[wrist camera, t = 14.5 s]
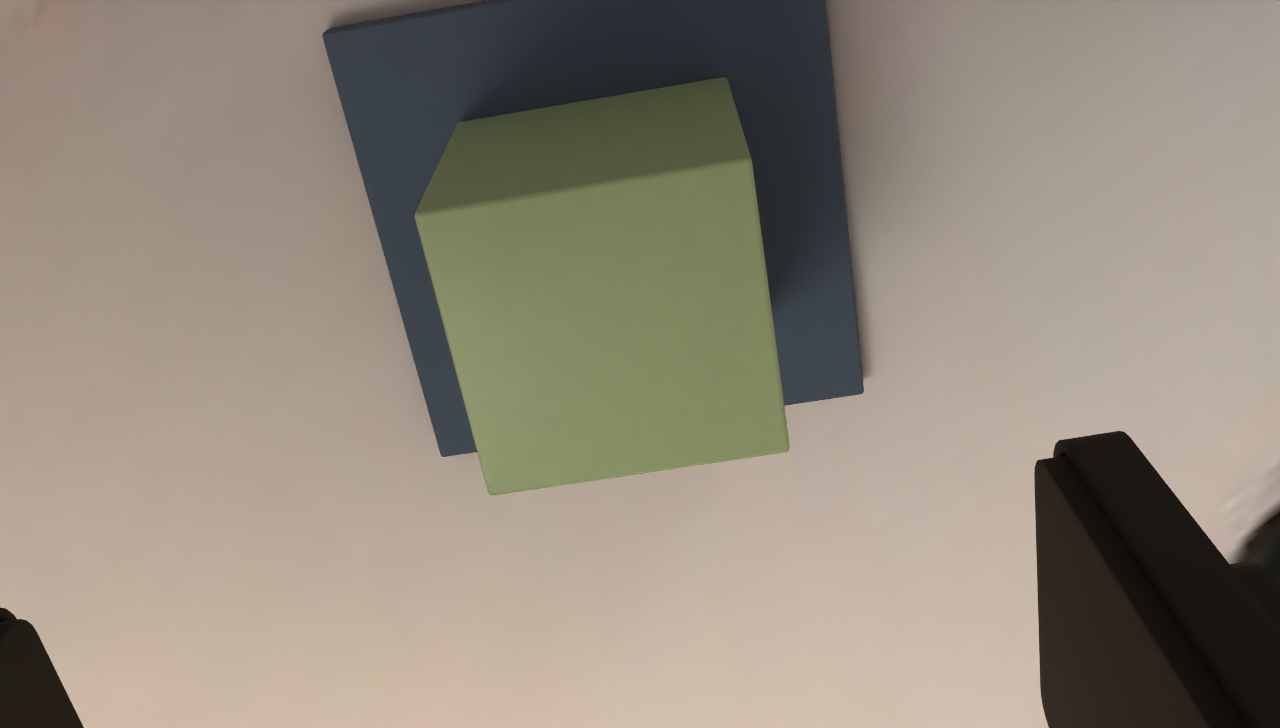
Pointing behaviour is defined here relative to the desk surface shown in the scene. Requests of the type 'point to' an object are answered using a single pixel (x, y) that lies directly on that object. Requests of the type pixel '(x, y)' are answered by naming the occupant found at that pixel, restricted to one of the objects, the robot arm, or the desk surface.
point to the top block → (606, 287)
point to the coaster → (596, 68)
